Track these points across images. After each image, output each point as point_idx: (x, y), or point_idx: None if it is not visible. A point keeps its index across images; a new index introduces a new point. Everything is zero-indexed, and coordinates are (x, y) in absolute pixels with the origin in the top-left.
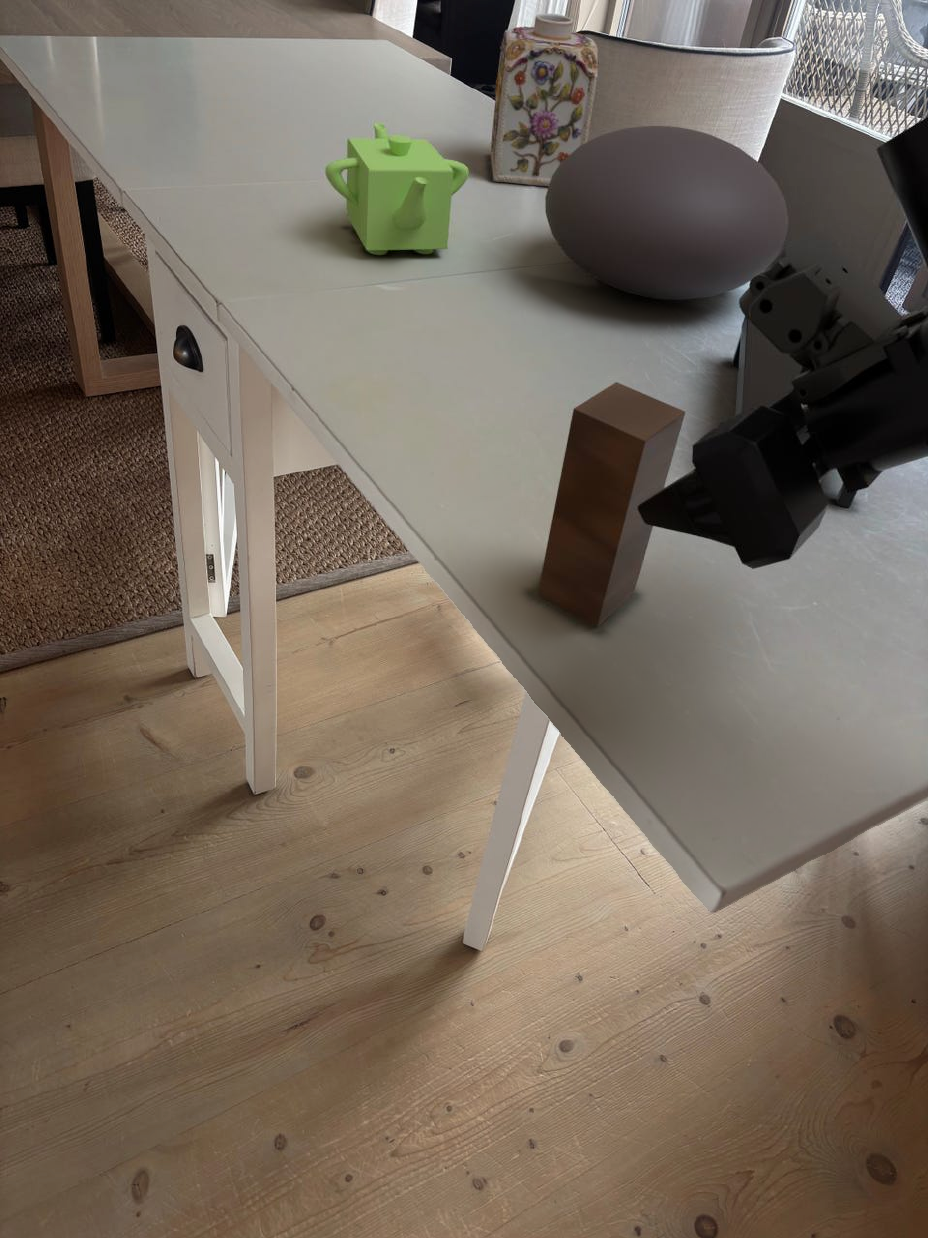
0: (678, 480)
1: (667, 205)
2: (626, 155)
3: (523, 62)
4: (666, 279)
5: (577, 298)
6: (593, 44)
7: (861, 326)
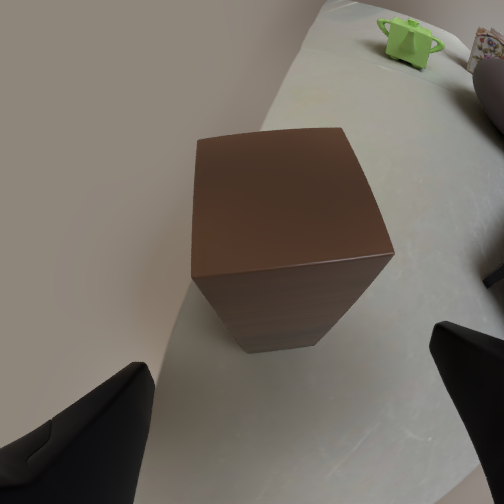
0: (51, 428)
1: None
2: None
3: (483, 35)
4: None
5: (476, 118)
6: None
7: None
